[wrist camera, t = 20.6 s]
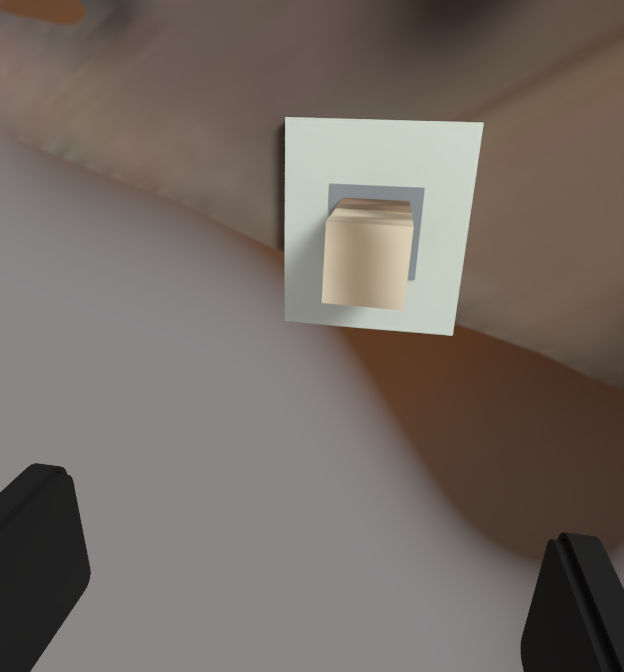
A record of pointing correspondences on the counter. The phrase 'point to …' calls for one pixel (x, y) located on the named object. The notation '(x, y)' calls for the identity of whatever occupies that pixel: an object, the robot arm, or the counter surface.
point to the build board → (386, 184)
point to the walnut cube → (375, 205)
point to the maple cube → (367, 258)
